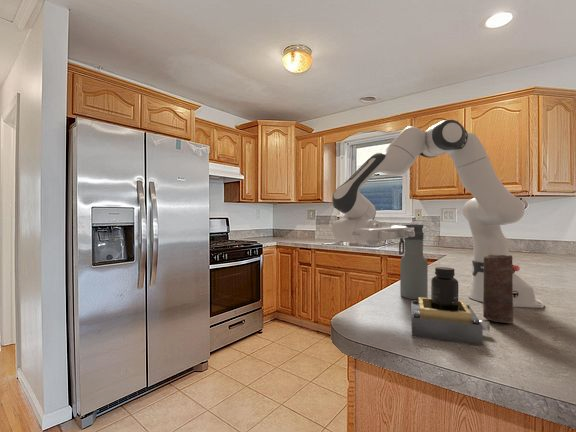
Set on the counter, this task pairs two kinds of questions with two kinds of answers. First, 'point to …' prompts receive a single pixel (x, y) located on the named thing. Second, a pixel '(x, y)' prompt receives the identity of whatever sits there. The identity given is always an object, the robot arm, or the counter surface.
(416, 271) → the water bottle
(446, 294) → the supplement bottle
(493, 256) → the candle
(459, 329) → the grey and tan box
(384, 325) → the counter surface
